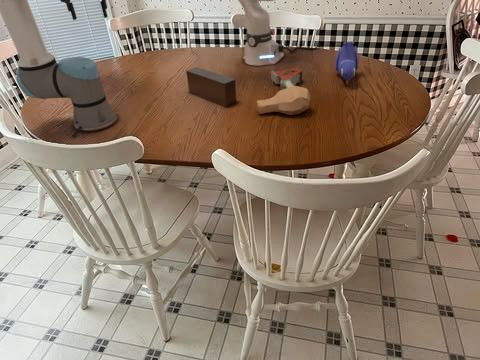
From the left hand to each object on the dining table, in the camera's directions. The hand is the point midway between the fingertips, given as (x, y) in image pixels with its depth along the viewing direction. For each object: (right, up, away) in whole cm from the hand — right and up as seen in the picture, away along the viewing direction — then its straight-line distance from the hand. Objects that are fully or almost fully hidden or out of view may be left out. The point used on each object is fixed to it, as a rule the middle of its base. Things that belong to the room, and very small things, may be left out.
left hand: (90, 18), depth 156 cm
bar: (+54, -37, -9) cm, 66 cm away
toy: (+112, -27, -1) cm, 115 cm away
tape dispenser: (+86, -32, -5) cm, 92 cm away
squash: (+82, -46, -24) cm, 97 cm away
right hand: (+55, +7, -18) cm, 58 cm away
